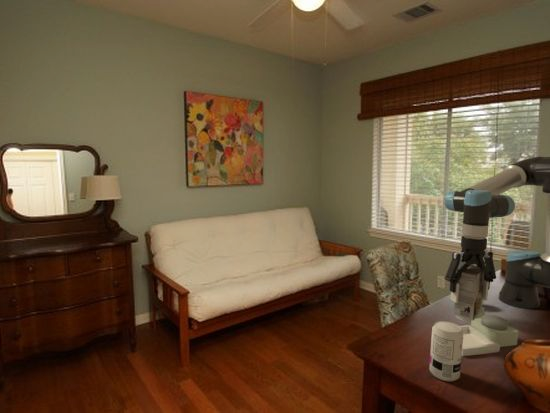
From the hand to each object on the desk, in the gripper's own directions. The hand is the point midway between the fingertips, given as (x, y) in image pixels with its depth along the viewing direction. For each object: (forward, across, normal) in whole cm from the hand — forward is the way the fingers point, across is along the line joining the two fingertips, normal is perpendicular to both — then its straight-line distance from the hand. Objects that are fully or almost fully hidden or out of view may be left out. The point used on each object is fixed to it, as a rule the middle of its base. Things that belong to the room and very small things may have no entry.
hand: (468, 300), depth 118 cm
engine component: (+16, -16, -17) cm, 28 cm away
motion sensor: (+16, -26, -26) cm, 40 cm away
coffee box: (+5, 0, 0) cm, 5 cm away
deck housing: (+16, -5, 0) cm, 16 cm away
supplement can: (+16, +19, +14) cm, 28 cm away
